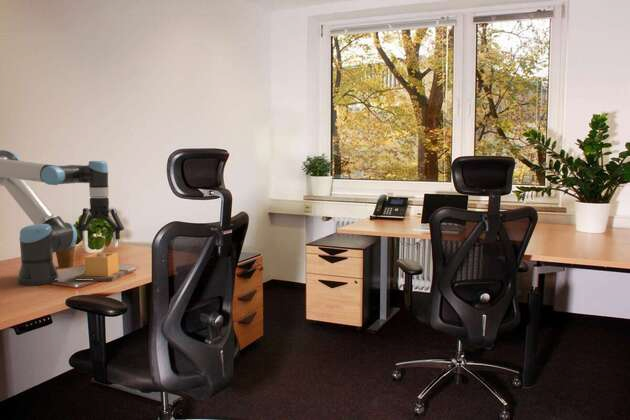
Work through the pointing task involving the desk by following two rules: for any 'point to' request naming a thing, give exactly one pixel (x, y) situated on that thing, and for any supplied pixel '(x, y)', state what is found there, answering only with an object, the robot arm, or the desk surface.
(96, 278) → the keeper
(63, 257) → the disposable coffee cup
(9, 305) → the desk surface
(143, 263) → the desk surface
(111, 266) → the open cardboard box
